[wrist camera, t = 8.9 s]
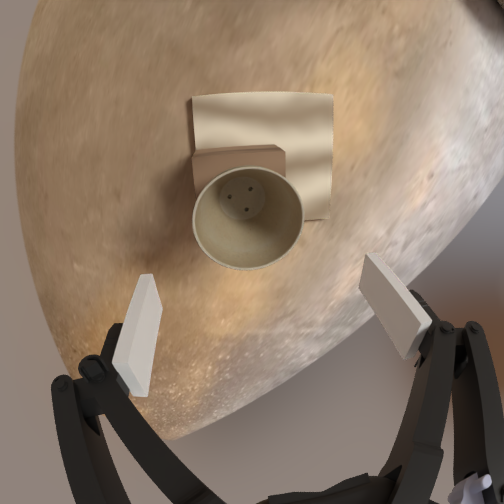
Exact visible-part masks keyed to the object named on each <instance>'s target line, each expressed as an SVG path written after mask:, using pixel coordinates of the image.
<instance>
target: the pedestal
mask: <svg viewBox="0 0 504 504" xmlns="http://www.w3.org/2000/svg"><path fill="white" fill-rule="evenodd" d="M244 165H254V166H260V167H264V168H268V169H270V170H273V171H275V172H277V173H279V174H281V175H282V176H284V177H285V178H286V154H285V151H284V150H283V149H281V148H280V147H278V146H277V145H275V144H268V145H248V146H232V147H220V148H209V149H199V150H196V151H195V152H194V154H193V156H192V168H193V178H194V187H195V195H196V201H197V198H198V196H199V195H200V193H201V191H202V190H203V189H204V187H205V186H206V185H207V184H208V183H209V182H210V181H211V180H212V179H213V178H214V177H215V176H217V175H218V174H220V173H221V172H223V171H225V170H227V169H230V168H233V167H237V166H244ZM250 188H251V187H250ZM250 188H249V189H250ZM228 198H231V197H228ZM246 209H247V210H248V208H246Z"/></svg>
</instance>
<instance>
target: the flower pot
mask: <svg viewBox="0 0 504 504" xmlns="http://www.w3.org/2000/svg"><path fill="white" fill-rule="evenodd" d="M250 187H251V188H250ZM249 188H250V189H249ZM228 197H231V198H228ZM246 208H248V210H247V209H246ZM303 226H304V206H303V202H302V200H301V197H300V195H299V193H298V191H297V190H296V188H295V187H294V186H293V184H292V183H291V182H290V181H289V180H287V179H286V178H285V177H284V176H282V175H281V174H279V173H277V172H275V171H273V170H270V169H268V168H264V167H260V166H254V165H244V166H237V167H233V168H230V169H227V170H225V171H223V172H221V173H220V174H218V175H217V176H215V177H214V178H213V179H212V180H211V181H210V182H209V183H208V184H207V185H206V186H205V187H204V189H203V190H202V191H201V193H200V195H199V196H198V198H197V201H196V203H195V206H194V209H193V214H192V228H193V232H194V236H195V239H196V241H197V243H198V245H199V246H200V248H201V249H202V251H203V252H204V253H205V254H206V255H207V256H208V257H209V258H211V259H212V260H213V261H215V262H216V263H218V264H220V265H222V266H225V267H227V268H231V269H235V270H256V269H261V268H264V267H267V266H269V265H272V264H274V263H276V262H277V261H279V260H280V259H282V258H283V257H284V256H286V255H287V254H288V253H289V252H290V251H291V250H292V249H293V247H294V246H295V245H296V243H297V242H298V240H299V238H300V235H301V233H302V230H303Z"/></svg>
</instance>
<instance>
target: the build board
mask: <svg viewBox="0 0 504 504" xmlns="http://www.w3.org/2000/svg"><path fill="white" fill-rule="evenodd" d="M192 108H193V121H194V134H195V146H196V150H199V149H209V148H220V147H232V146H248V145H268V144H275V145H277V146H278V147H280V148H281V149H283V150H284V151H285V154H286V179H287V180H289V181H290V182H291V183H292V184H293V186H294V187H295V188H296V190H297V191H298V193H299V195H300V197H301V200H302V202H303V206H304V220H314V219H329V212H330V198H331V181H332V159H333V94H324V93H307V92H239V93H223V94H211V95H201V96H192Z"/></svg>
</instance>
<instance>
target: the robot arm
mask: <svg viewBox="0 0 504 504" xmlns="http://www.w3.org/2000/svg"><path fill="white" fill-rule="evenodd" d="M359 289H360V291H361V292H362V294H363V295H364V297H365V298H366V300H367V302H368V303H369V305H370V306H371V308H372V309H373V311H374V313H375V314H376V316H377V317H378V319H379V321H380V322H381V324H382V325H383V327H384V329H385V330H386V332H387V334H388V335H389V337H390V338H391V340H392V342H393V344H394V345H395V347H396V349H397V350H398V352H399V354H400V355H401V357H402V359H403V360H406V359H409V358H412V357H414V356H415V354H416V352H417V351H418V350H419V351H420V353H421V355H420V357H419V359H418V360H417V362H416V364H415V366H414V367H416V366H417V369H416V374H415V378H414V382H413V386H412V389H411V393H410V397H409V400H408V404H407V408H406V411H405V414H404V417H403V420H402V423H401V426H400V429H399V432H398V435H397V438H396V441H395V443H394V446H393V448H392V451H391V453H390V456H389V458H388V460H387V462H386V464H385V466H384V467H383V468H382V470H381V471H380V473H379V475H378V476H368V473H365V474H362V475H359V476H356V477H353V478H349V479H346V480H344V481H342V482H340V483H338V484H336V485H334V486H333V487H331V488H329V489H327V490H325V491H322V492H291V493H285V494H279V495H271V496H268V499H266V500H263V501H261V502H259V503H257V504H438V503H436V502H434V501H432V500H430V499H429V498H430V496H431V493H432V490H433V488H434V485H435V482H436V479H437V476H438V472H439V469H440V466H441V462H442V459H443V454H444V451H443V449H441V447H440V446H441V441H442V437H443V432H444V428H445V423H446V419H447V413H448V408H449V402H450V396H451V391H452V403H453V418H454V467H453V470H454V471H453V475H454V476H453V477H454V486H455V487H454V488H453V490H452V492H451V493H450V494H449V496H448V502H449V503H450V504H504V418H503V410H502V403H501V397H500V392H499V387H498V382H497V377H496V373H495V369H494V365H493V361H492V357H491V354H490V350H489V346H488V343H487V340H486V337H485V334H484V330H483V328H482V326H480V324H478V323H477V322H474V321H469V322H467V323H466V325H465V327H464V328H454V326H453V325H452V324H451V323H449V322H447V321H440V319H439V318H438V317H437V316H436V314H435V313H434V312H433V311H432V309H431V308H430V307H429V306H428V305H427V303H426V302H425V301H424V299H423V298H422V297H421V296H420V295H419V294H418V293H417V292H415V291H414V290H408V289H407V288H406V287H405V286H404V284H403V283H402V282H401V281H400V280H399V278H398V277H397V276H396V275H395V274H394V272H393V271H392V270H391V269H390V268H389V267H388V266H387V264H386V263H385V262H384V261H383V260H382V259H381V258H380V256H379V255H378V254H377V253H376V252H372V253H366V254H365V259H364V264H363V269H362V274H361V279H360V284H359ZM162 309H163V308H162V305H161V302H160V298H159V295H158V292H157V288H156V285H155V281H154V277H153V274H141V275H140V277H139V280H138V283H137V285H136V288H135V291H134V294H133V296H132V299H131V302H130V305H129V308H128V311H127V314H126V317H125V320H124V323H114V325H113V326H112V327H111V328H110V329H109V331H108V334H107V337H106V339H105V342H104V345H103V348H102V351H101V354H100V356H98V355H89V356H86V357H85V358H84V359H82V360H81V362H80V363H79V367H78V370H79V373H80V374H81V376H82V377H83V378H80V379H76V380H72V378H71V377H69V376H68V375H60V376H58V377H56V378H55V379H54V380H53V382H52V384H51V393H52V402H53V410H54V417H55V424H56V430H57V435H58V440H59V445H60V449H61V454H62V458H63V462H64V467H65V470H66V474H67V477H68V481H69V484H70V487H71V491H72V494H73V497H74V499H75V502H76V504H131V503H130V500H129V498H128V496H127V494H126V492H125V490H124V487H123V485H122V483H121V480H120V478H119V476H118V473H117V470H116V468H115V465H114V463H113V460H112V457H111V455H110V452H109V449H108V446H107V443H106V440H105V437H104V434H103V430H102V428H101V424H100V421H99V417H98V415H102V414H105V416H106V417H107V419H108V420H109V422H110V423H111V425H112V427H113V428H114V430H115V431H116V433H117V434H118V436H119V437H120V439H121V440H122V442H123V443H124V444H125V446H126V447H127V449H128V450H129V451H130V453H131V454H132V455H133V457H134V458H135V459H136V461H137V462H138V463H139V465H140V466H141V467H142V468H143V470H144V471H145V472H146V473H147V475H148V476H149V477H150V478H151V479H152V481H153V482H154V483H155V484H156V485H157V486H158V488H159V489H160V490H161V491H162V492H163V493H164V494H165V495H166V496H167V498H168V499H169V500H170V501H171V502H172V503H173V504H226V503H225V502H224V501H223V500H222V499H220V498H219V497H218V496H217V495H216V494H215V493H213V492H212V491H211V490H210V489H209V488H208V487H207V486H206V485H205V484H204V483H203V482H201V481H200V480H199V479H198V478H197V477H196V476H195V475H194V474H193V473H192V472H191V471H190V470H189V469H188V468H187V467H186V466H185V465H184V464H183V463H182V462H181V461H180V460H179V459H178V457H177V456H176V455H175V454H174V453H173V452H172V451H171V450H170V449H169V448H168V447H167V445H166V444H165V443H164V442H163V441H162V440H161V439H160V437H159V436H158V435H157V434H156V433H155V431H154V430H153V429H152V428H151V427H150V425H149V424H148V423H147V422H146V420H145V419H144V418H143V416H142V415H141V414H140V413H139V411H138V410H137V409H136V407H135V406H134V405H133V403H132V402H131V400H130V399H129V398H128V396H129V390H130V392H131V393H132V395H133V396H140V397H148V391H149V384H150V377H151V370H152V364H153V358H154V352H155V346H156V341H157V335H158V330H159V325H160V319H161V314H162ZM417 364H418V365H417Z"/></svg>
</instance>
